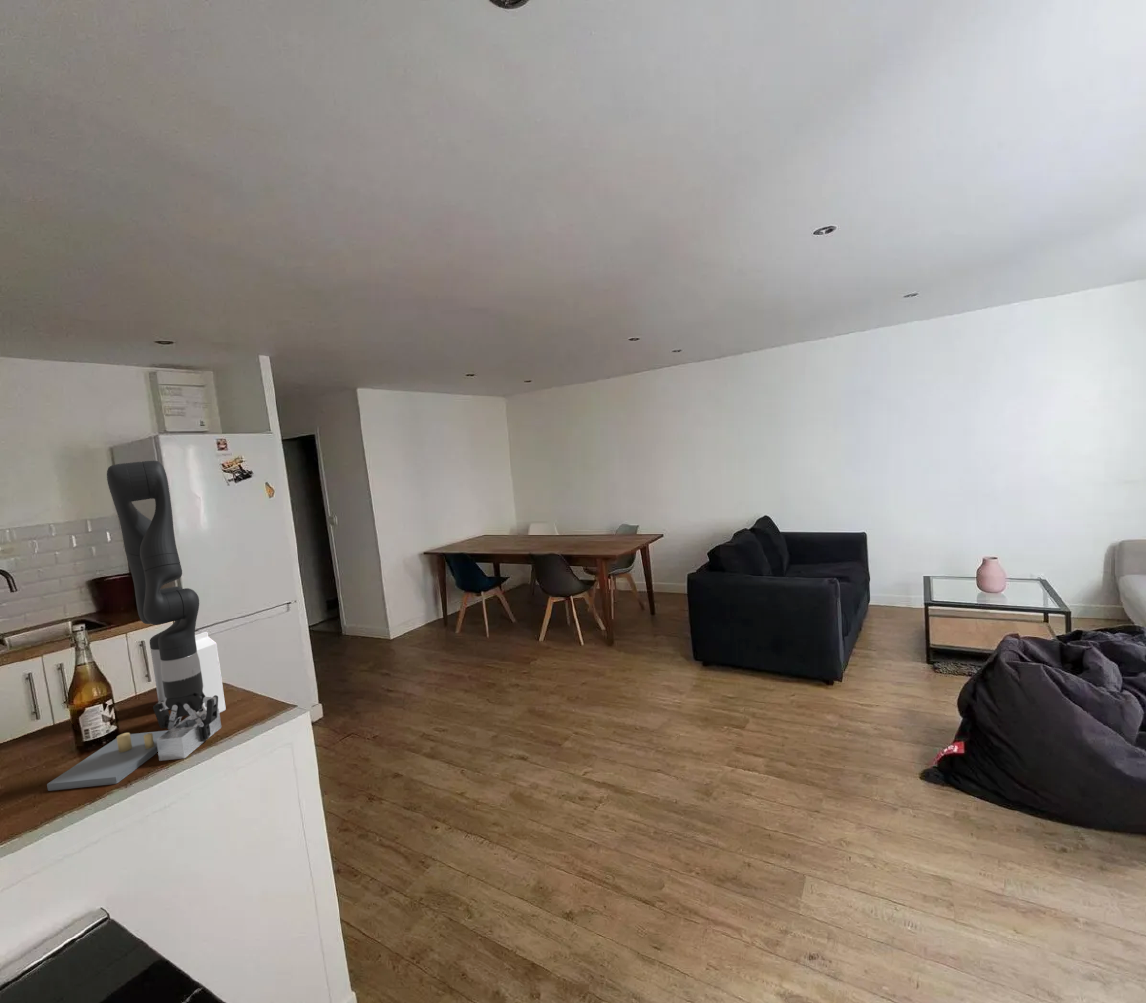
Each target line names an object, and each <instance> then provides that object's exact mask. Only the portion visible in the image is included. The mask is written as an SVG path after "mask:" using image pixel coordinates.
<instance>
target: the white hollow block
mask: <svg viewBox="0 0 1146 1003" xmlns="http://www.w3.org/2000/svg"><path fill="white" fill-rule="evenodd" d="M196 713H197V714H198V713H199V711H198V712H196ZM220 713H221V712H220ZM220 713H219V708H218V712H217V718H216V719H215V720H214V721H213V722H211V723H210V724H209V726H210V733H211V734H210V736H209V738H211V736H213V735H214V734H215V733H217V732H218V731H219V730H220V729H221V728H222V722H221V715H220ZM156 742H157V749H158V753H157V755H158V761H159V762H161V761H162V762H163V761H169V760H170V761H171V760H180V759H186V758H187V757H188V756H189V755H190V754H191V753H193V752H194V751H195V750H196V749H198V748H199V747H200V746H201V745H203V743H205V742H206V741H204V742H201V740H200V733H199V725H198V724H197V722H196V721H195V720H193V719H192V718H191V716H186V717H184V719H183V720H181V721H180V723H179V724H177V725H176V726H174V727H173V728H172V729H170V730H169V731H168V732H166V733H165V734H163V735H162V736H161V737H159V738H158V739H157V740H156Z"/></svg>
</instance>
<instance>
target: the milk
mask: <svg viewBox="0 0 1146 1003" xmlns="http://www.w3.org/2000/svg"><path fill="white" fill-rule="evenodd" d="M195 641H196V648H197V654H198V657H199V660H200V667H201V673H202V680H203V693H204V695H205V696H206V697H213V696H215V695H217V696H218V708H219V713H223V712H225V711H226V710H227V708H226V702H225V700H226V699H225V695H224V694H225V693H224V686H223V678H222V673H221V664H220V658H219V649H218V643H217V642H216V641H215V640H213V639H212V638H211V637H210V636H209V633H208V631H204V632H200V633H198V634H195ZM202 705H203V706H204V708H205V709H206V710H207V707H205V703H203V704H202Z"/></svg>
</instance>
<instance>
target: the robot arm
mask: <svg viewBox="0 0 1146 1003" xmlns="http://www.w3.org/2000/svg"><path fill="white" fill-rule="evenodd" d="M106 481H107V485H108V489H109V493H110V495H111V498H112V502H113V504H114V508H115V510H116V513H117V516H118V521H119V525H120V530H121V536H122V541H123V547H124V551H125V556H126V559H127V562H128V566H129V569H130V573H131V577H132V581H133V587H134V595H135V602H136V609H137V614H138V617H139V619H140V621H141V622H142V623H143V624H145V625H152V626H153V625H154V626H158V625H159V626H160V625H163V624H168V623H171V622H173V623H172V624H171V625H170V626H169V627H168V628H166V629H164V630H162V631H161V632H159V633H156V634H155V635H152V637H150V639H149V648H150V654H151V655H150V656H151V660H152V666H153V675H154V681H155V687H156V693H157V694H156V696H157V703H155V705H153V707H152V709H153V712H154V715H155V718H156V719H157V723H158V726H159V728H160V729H168V730H170V729H172V728H173V727H174V726H176V725H177V724H179V723H180V722H181V721H182V718H183V717H184V716H185V717H188V716H191V718H192V719H193V720H195V721H196V722H197V724H198V725H199V733H200V740H201V742H203V743H205V742H206V741H207V740H208V739H210V737H209V736H210V734H211V733H210V726H209V724H210V723H211V722H213V721H214V720H215V719H216V718H217V712H218V696H217V695H215V696H213V697H206V696H205V695H204V693H203V680H202V673H201V667H200V660H199V657H198V654H197V648H196V641H195V635H196V624H197V620H198V614H199V608H200V597H199V595H198V594H197V593H198V592H196V591H195V590H193V589H192V588H188V587H187V588H183V587H182V586H171V587H164V588H162V587H163V586H164V585H167V584H169V583H173V582H174V581H176V580H179V579H180V578H181V577H182V576H183V570H182V564H181V561H180V557H179V553H178V549H177V544H176V537H175V530H174V518H173V510H172V501H171V492H170V487H169V486H170V485H169V481H168V476H167V473H166V469H165V467H164V465H163V464H162V463H161V462H160V461H158V460H144V461H134V462H133V461H132V462H124V463H116V464H113V465H110V466H109V467H108V468H107V470H106ZM153 499H154V500H155V501H154V502H155V503H154V504H155V508H154V509H155V510H154V515H153V517H152V520H151V519H150V518H148V517H147V516H146V515H144V514H143V513H141V511H139V510H138V509H137V507H136V506H135V505H134V503H133V502H136V501H137V502H138V501H144V500H153ZM203 703H205V707H207V710H206V709H205V708H204V706H203V705H202V704H203ZM169 710H170V712H169ZM198 711H199V713H198V714H197V713H196V712H198ZM204 741H205V742H204Z"/></svg>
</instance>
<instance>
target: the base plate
mask: <svg viewBox="0 0 1146 1003" xmlns="http://www.w3.org/2000/svg"><path fill="white" fill-rule="evenodd" d="M168 731H169V730H158V731H149V732H147V731H146V732H140V733H139V732H138V733H130V732H124V733H121V734H118V735H117V736H116V738H115V739H113V740H112V741H110V742H109V743H107V744H106V745H103V747H101V748H99V749H98V750H96V751H95V752H94V753H92V754H90V755H89V756H87V757H86V758H84V759H83V760H82V761H80V762H78V763H77V764H75V765H73V766H72V767H71V768H69V769H68V770H66V771H64V772H63V773H62V774H60V775H59V776H56V777H55V778H54V779H52V780H51V781H50V782H48V783H47V784H46V786H47V787H46V788H47V791H59V790H60V791H61V790H70V789H78V788H87V787H89V788H90V787H99V786H108V785H117V784H118V783H120V782H121V781H122V780H123V779H126V777H128V775H130V774H132V773H133V772H134V771H136V770H137V769H138V768H139V767H141V766H142V765H143V764H145V763H146V762H147V761H149V760H150V759H151V758H152V757H154V756H155V755H156V754H158V753H157V752H158V749H157V742H156V740H157V739H158V738H159V737H161V736H162V735H163V734H165V733H166V732H168Z"/></svg>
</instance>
